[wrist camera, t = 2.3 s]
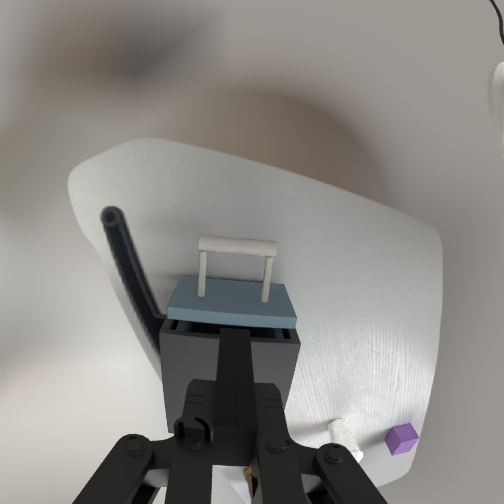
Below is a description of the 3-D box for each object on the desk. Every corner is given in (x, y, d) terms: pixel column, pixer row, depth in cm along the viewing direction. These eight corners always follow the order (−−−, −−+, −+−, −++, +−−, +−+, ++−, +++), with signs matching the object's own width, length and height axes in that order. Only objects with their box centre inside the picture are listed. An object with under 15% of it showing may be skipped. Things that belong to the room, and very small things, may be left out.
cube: (393, 426, 43) (401, 442, 39) (410, 423, 44) (419, 437, 39) (384, 440, 44) (391, 455, 40) (401, 436, 45) (409, 451, 40)
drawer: (184, 222, 30) (167, 240, 23) (291, 232, 31) (308, 253, 23) (182, 369, 35) (172, 411, 28) (268, 376, 36) (274, 418, 29)
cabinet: (178, 289, 33) (158, 332, 24) (285, 298, 34) (301, 343, 25) (179, 382, 37) (168, 432, 28) (268, 389, 38) (275, 440, 29)
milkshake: (336, 411, 40) (353, 456, 31) (353, 420, 41) (371, 463, 32) (315, 426, 41) (328, 472, 31) (333, 434, 42) (348, 477, 33)
